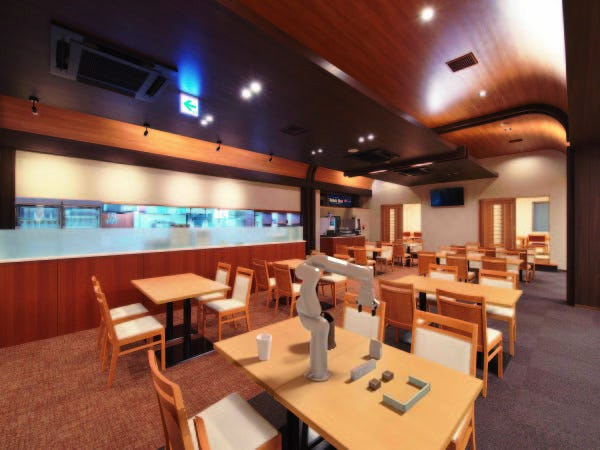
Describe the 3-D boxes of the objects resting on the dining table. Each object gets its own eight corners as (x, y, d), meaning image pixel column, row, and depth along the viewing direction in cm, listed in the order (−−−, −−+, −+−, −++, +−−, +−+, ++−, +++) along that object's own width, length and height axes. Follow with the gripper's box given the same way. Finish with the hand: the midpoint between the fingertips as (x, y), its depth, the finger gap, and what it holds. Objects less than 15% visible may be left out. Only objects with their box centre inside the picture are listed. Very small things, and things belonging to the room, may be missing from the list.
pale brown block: (379, 359, 165) (380, 342, 165) (369, 356, 169) (369, 340, 169) (382, 357, 168) (382, 340, 168) (371, 353, 172) (371, 338, 172)
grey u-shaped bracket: (404, 415, 117) (404, 405, 117) (382, 402, 126) (382, 394, 126) (430, 392, 134) (430, 383, 134) (409, 382, 142) (409, 374, 142)
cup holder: (336, 339, 193) (336, 304, 193) (337, 355, 169) (337, 315, 169) (310, 338, 195) (310, 303, 195) (307, 354, 171) (307, 314, 171)
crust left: (375, 391, 133) (375, 385, 133) (368, 387, 136) (368, 381, 136) (381, 387, 136) (381, 381, 136) (374, 383, 140) (374, 377, 140)
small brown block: (388, 382, 141) (388, 376, 141) (381, 378, 144) (381, 373, 144) (393, 378, 144) (393, 373, 144) (387, 375, 147) (387, 369, 147)
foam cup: (272, 354, 170) (272, 333, 170) (271, 361, 161) (271, 339, 161) (257, 354, 170) (257, 333, 170) (255, 362, 161) (255, 340, 161)
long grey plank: (354, 381, 141) (354, 372, 141) (350, 379, 143) (350, 370, 143) (376, 368, 154) (376, 359, 154) (372, 367, 156) (372, 358, 156)
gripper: (351, 284, 171) (351, 311, 171) (376, 289, 158) (375, 319, 158) (358, 283, 176) (358, 309, 176) (382, 287, 163) (382, 316, 163)
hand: (366, 314), depth 167 cm, fingers open, 9 cm apart
